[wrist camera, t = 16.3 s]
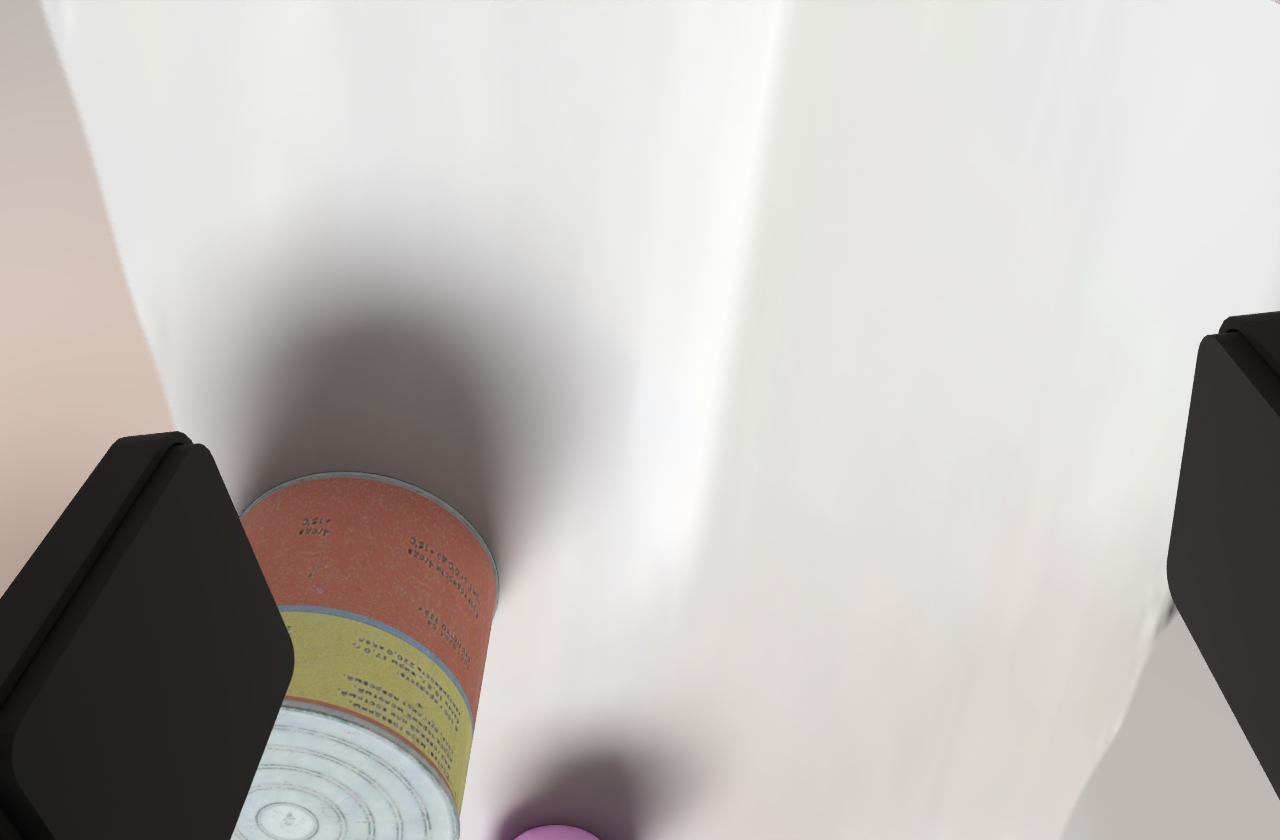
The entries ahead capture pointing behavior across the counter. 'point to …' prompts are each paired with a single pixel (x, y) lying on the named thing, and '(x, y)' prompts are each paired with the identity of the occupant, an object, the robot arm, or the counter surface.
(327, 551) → the canned food
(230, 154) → the counter surface
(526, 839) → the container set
